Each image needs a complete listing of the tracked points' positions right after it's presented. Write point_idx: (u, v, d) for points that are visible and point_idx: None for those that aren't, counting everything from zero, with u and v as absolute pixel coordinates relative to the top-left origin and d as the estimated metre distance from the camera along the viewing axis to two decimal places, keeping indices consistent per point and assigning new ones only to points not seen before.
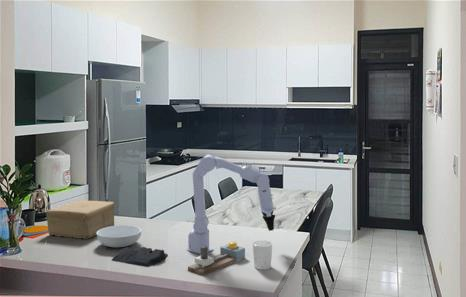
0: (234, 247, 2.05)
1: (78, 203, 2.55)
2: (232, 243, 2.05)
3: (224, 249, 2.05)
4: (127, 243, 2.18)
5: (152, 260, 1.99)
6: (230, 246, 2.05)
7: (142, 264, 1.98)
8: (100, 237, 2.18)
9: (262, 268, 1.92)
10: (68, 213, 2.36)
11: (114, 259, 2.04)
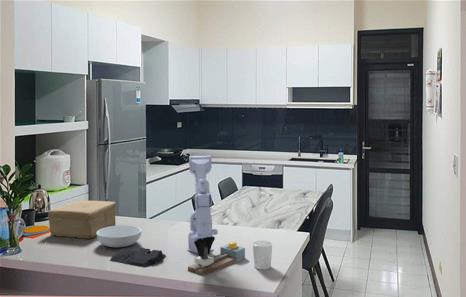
0: (234, 247, 2.05)
1: (79, 203, 2.55)
2: (232, 243, 2.05)
3: (224, 249, 2.05)
4: (127, 243, 2.18)
5: (150, 261, 1.99)
6: (230, 246, 2.05)
7: (140, 265, 1.97)
8: (100, 237, 2.18)
9: (262, 268, 1.92)
10: (70, 213, 2.36)
11: (112, 259, 2.04)
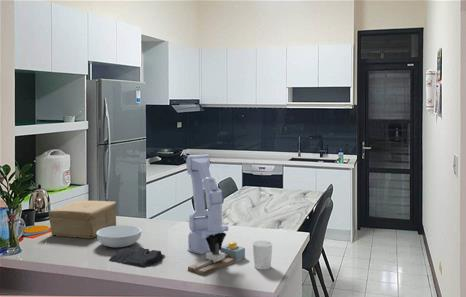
0: (234, 247, 2.05)
1: (80, 203, 2.55)
2: (232, 243, 2.05)
3: (224, 249, 2.05)
4: (127, 243, 2.18)
5: (149, 261, 1.98)
6: (230, 246, 2.05)
7: (138, 265, 1.97)
8: (100, 237, 2.18)
9: (262, 268, 1.92)
10: (72, 213, 2.36)
11: (111, 259, 2.03)
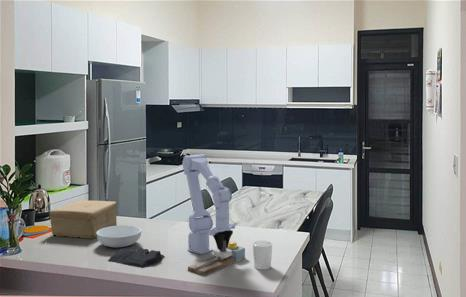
0: (234, 247, 2.05)
1: (80, 203, 2.55)
2: (232, 243, 2.05)
3: None
4: (127, 243, 2.18)
5: (148, 261, 1.98)
6: (230, 246, 2.05)
7: (137, 265, 1.97)
8: (100, 237, 2.18)
9: (262, 268, 1.92)
10: (73, 213, 2.36)
11: (110, 260, 2.03)
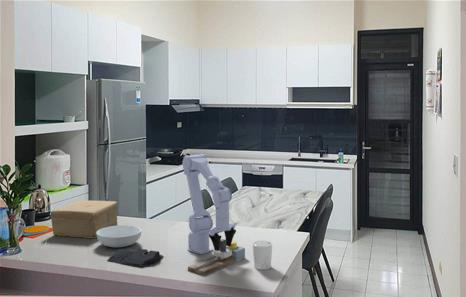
0: (234, 247, 2.05)
1: (81, 203, 2.55)
2: (232, 243, 2.05)
3: None
4: (127, 243, 2.18)
5: (146, 262, 1.98)
6: (230, 246, 2.05)
7: (136, 265, 1.96)
8: (100, 237, 2.18)
9: (262, 268, 1.92)
10: (74, 213, 2.37)
11: (109, 260, 2.03)
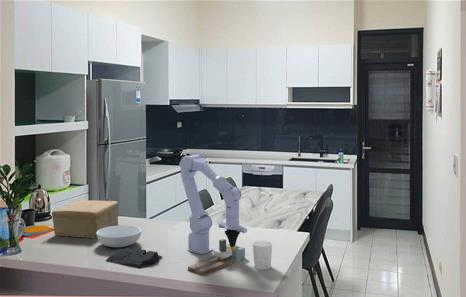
0: None
1: (81, 203, 2.55)
2: None
3: None
4: (127, 243, 2.18)
5: (145, 262, 1.97)
6: None
7: (134, 266, 1.96)
8: (100, 237, 2.18)
9: (262, 268, 1.92)
10: (76, 213, 2.37)
11: (108, 260, 2.03)
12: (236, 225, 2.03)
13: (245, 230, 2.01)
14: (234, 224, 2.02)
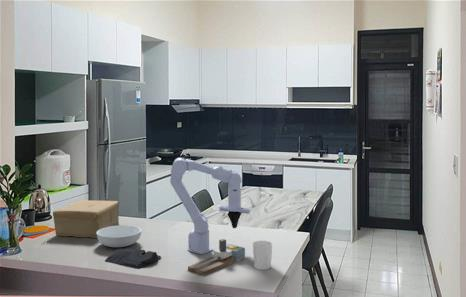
0: None
1: (82, 203, 2.55)
2: (232, 247, 2.06)
3: None
4: (127, 243, 2.18)
5: (143, 262, 1.97)
6: None
7: (133, 266, 1.96)
8: (100, 237, 2.18)
9: (262, 268, 1.92)
10: (77, 213, 2.37)
11: (107, 260, 2.03)
12: (239, 207, 2.14)
13: (249, 211, 2.12)
14: (238, 206, 2.13)
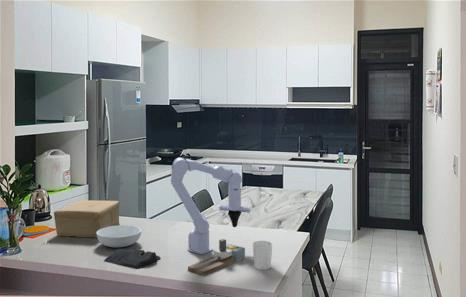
0: None
1: (83, 203, 2.55)
2: (232, 247, 2.06)
3: None
4: (127, 243, 2.18)
5: (142, 262, 1.97)
6: None
7: (132, 266, 1.95)
8: (100, 237, 2.18)
9: (262, 268, 1.92)
10: (78, 213, 2.37)
11: (106, 260, 2.03)
12: (239, 206, 2.15)
13: (249, 210, 2.14)
14: (238, 205, 2.14)
